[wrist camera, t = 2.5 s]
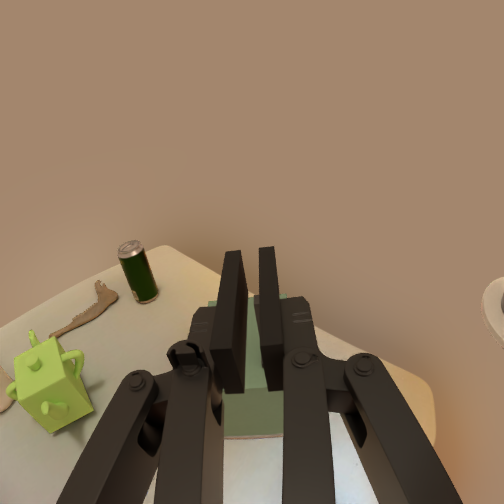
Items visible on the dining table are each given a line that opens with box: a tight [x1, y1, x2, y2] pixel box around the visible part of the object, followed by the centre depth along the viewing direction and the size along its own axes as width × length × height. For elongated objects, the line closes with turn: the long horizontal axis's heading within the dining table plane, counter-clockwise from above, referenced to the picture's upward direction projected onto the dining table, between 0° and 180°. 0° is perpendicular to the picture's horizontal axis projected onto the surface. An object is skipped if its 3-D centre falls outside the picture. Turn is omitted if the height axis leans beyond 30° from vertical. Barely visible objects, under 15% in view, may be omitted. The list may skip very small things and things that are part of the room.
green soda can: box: [117, 240, 158, 304], centre depth 58 cm, size 5×5×12 cm
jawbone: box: [49, 280, 118, 339], centre depth 57 cm, size 9×20×2 cm, turn 165°
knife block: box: [208, 294, 287, 439], centre depth 35 cm, size 10×14×11 cm
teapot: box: [6, 330, 94, 433], centre depth 34 cm, size 15×13×11 cm
